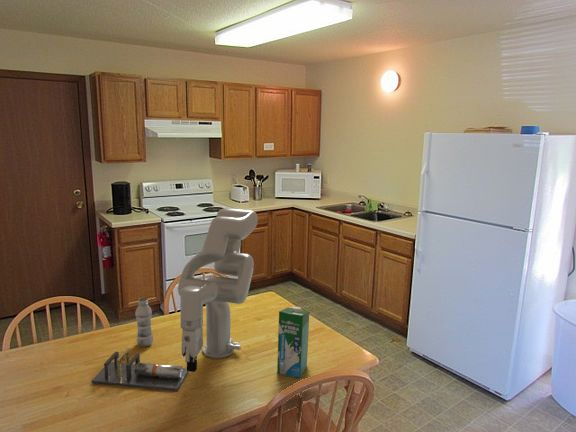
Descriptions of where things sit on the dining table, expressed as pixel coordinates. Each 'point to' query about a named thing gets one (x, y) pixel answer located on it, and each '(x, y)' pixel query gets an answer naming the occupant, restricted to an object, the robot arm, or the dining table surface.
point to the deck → (139, 379)
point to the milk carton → (293, 341)
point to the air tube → (158, 370)
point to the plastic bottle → (144, 323)
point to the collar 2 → (128, 366)
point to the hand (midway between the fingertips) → (191, 370)
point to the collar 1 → (106, 364)
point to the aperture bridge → (122, 357)
